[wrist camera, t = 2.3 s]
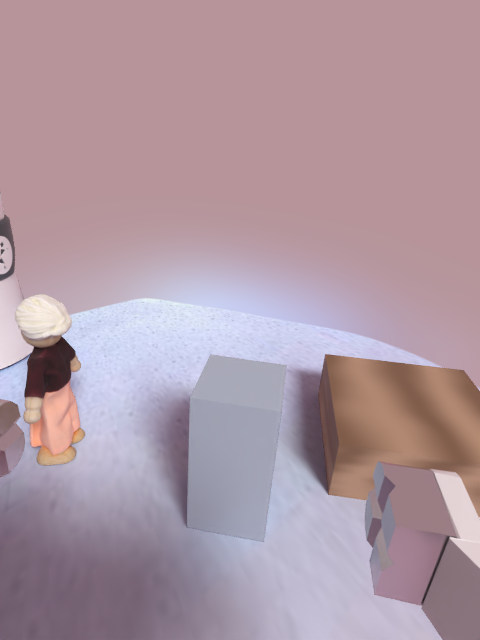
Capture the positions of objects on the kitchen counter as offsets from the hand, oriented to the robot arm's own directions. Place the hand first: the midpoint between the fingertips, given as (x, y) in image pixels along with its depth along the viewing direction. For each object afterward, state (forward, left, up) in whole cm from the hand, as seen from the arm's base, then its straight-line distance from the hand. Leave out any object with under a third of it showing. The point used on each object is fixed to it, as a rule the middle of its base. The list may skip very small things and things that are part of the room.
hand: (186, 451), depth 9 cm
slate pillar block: (0, +13, -16) cm, 21 cm away
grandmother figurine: (-14, +15, -17) cm, 27 cm away
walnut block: (+13, +22, -17) cm, 31 cm away
